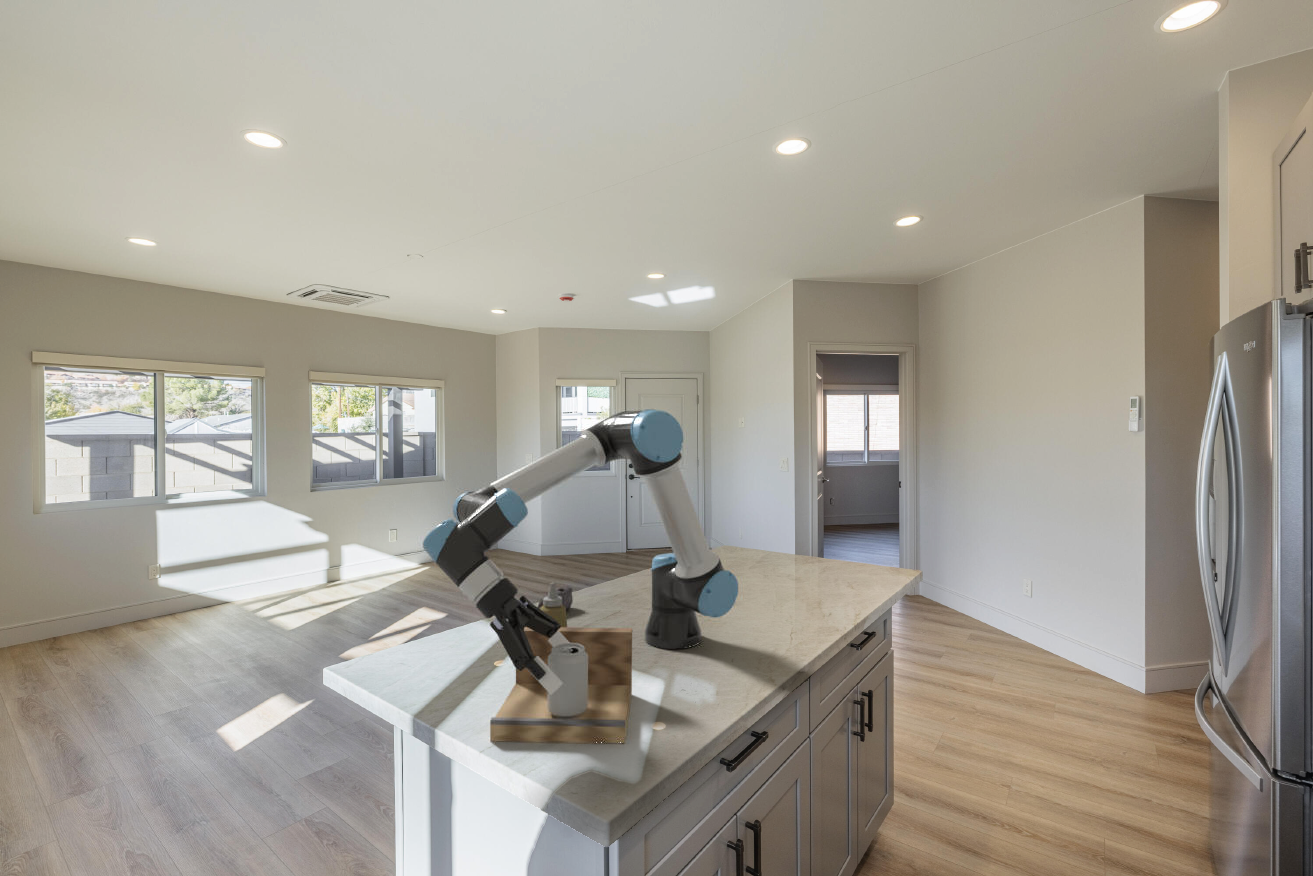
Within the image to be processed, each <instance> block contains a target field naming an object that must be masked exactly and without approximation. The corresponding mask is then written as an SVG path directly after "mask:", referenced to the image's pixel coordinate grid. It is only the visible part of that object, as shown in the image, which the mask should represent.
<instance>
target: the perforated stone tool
mask: <svg viewBox="0 0 1313 876" xmlns="http://www.w3.org/2000/svg"><path fill="white" fill-rule="evenodd" d="M556 590H557V594H558V596H560V597H562V605H563V606H564V607H566V611H567V610H568V609H570V608H571V607H572V604H573V601H574V600H573V588H572V587H571V586H567V585H566V586H564V587H560V588H556ZM547 596H548V594H546V595H545V596H543V597H542V598H541V599H540V600H539V603H538V605H537V607H538V608H539V609H540V608H541V607H542V606H543V598H544V597H547Z"/></svg>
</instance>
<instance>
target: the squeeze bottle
mask: <svg viewBox="0 0 1313 876" xmlns="http://www.w3.org/2000/svg"><path fill="white" fill-rule="evenodd" d="M547 595H548V596H547V597H545V596H543V597H544V598H543V597H542V598H543V606H542V607H541V608H540V609H541V610H542V611H543V612H545V613H546V614H548V615H549V616H550V617H552V618H553V619H555V620H556V621H557V622H558V623H559V624H560V625H561V627H568V618H567V610H566V607H564V606H563V605H562V597H560V596H558V594H557V586H556V582H551V583H550V585H549V588H548V593H547ZM550 623H551V622H550Z"/></svg>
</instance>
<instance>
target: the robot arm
mask: <svg viewBox="0 0 1313 876" xmlns="http://www.w3.org/2000/svg"><path fill="white" fill-rule="evenodd" d="M683 442H684V433H683V429H682V426H681V424H680V422H679V421H678V420H677V418H675V417H674V415H672V414H671V413H668V412H667V411H664V410H661V409H660V410H659V409H654V408H653V409H651V408H650V409H644V410H627V411H626V410H625V411H620V412H618V413H615V414H613V415H610V416H608V417H607V418H605V419H603V420H601V421H599V422H597V423H596V424H594V425H593V426H590V427H589V428H586V429H584V430H583V431H582V432H581V434H580V436H579V438H576V439H574V440H573V441H571V442H568V443H567V444H564V445H563V446H561V447H559V448H557V449H555V450H553V451H551V452H549V453H548V454H545V455H543V456H542V457H540V458H538V459H536V460H534V461H531V462H530V463H528V464H526V465H524V466H522V467H520V468H519V469H517V470H515V471H512V472H510V473H509V474H507V475H505V476H502V477H501V478H499V479H497V480H495V481H493V482H492V483H489V484H488V485H486V486H483V487H481V488H480V489H478V490H476V491H467V492H464V493H462V494H460V495H458V497H456V499H455V501H454V503H453V507H452V513H453V516H454V518H455V519H456V521H455V520H454V519H452V518H448V519H445V520H444V521H443V522H441V523H439V524H438V525H436V526H435V527H434V528H433V529H431V531H430V532H428V534H427V535H426V536H425V538H424V539H423V541H422V548H423V550H424V551H425V552H426V553H427V554H428V556H429V557H430V558H431V559H432V560H433V562H434V563H435V564H436V565H437V566H438V568H440V569H441V571H442V572H443V573H444V574H445V575H446V576H448V578H449V579H450V580H451V581H452V583H454V584H455V585H456V587H457V588H459V590H460V591H461V592H462V596H464V597H465V596H466V598H468V599H469V600H470V601H471V603H475V602H476V603H475V607H476V608H477V610H478V611H479V612H480V613H481V614H482V615H483V616H484V618H486V619H491V618H492V617H495V618H494V619H493V620H492V621H491V622H490V623H489V625H490V627H491V628H492V630H493V631H494V632H495V634H496V635H497V637H498V639H499V640H500V643H501V644H502V645H503V648H504V650H505V651H506V654H507V655H508V657H509V658H510V661H511V663H512V664H513V666H514V668H515V670H516V669H519V670H520V671H522V670H523V669H524V668H525V667H526V668H527V669H528V670H529V672H530V673H531V674H532V675H533V676H534V677H535V678H536V679H537V680H538V681H539V682H540V684H541V685H542V686H543V687H544V688H545V689H546V690H547V691H548V692H549V693H550V694H551V695H552V694H553V693H554V692H555V691H556V690H557V689H558V688H559V687H560V686H561V685H562V684H563V682H562V681H561V680H560V679H559V678H558V677H557V676H556V675H555V674H554V673H553V672H552V670H551V669H550V668H549V667H548V666H547V665H546V664H545V663H544V662H543V661H542V660H541V658H540V657H539V656H537V657H536V658H535V656H534V654H533V651H532V649H531V646H530V644H529V641H528V639H527V636H526V634H525V631H524V628H525V627H528V628H530V629H532V630H534V631H536V632H538V633H540V634H542V635H544V636H546V637H548V638H550V637H551V638H550V639H549V640H548V642H549V643H550V644H551V645H552V646H553V647H554V646H556V645H558V644H562V643H570V642H569V641H568V640H567V639H566V638H565V637H564V636H563V635H562V634H561V633H560V632H559V631H557V630H558V629H559V628H560V627H561V625H560V624H559V623H558V622H557V621H556V620H555V619H553V618H552V617H550V616H549V615H548V614H546V613H545V612H543V611H542V610H541V609H539V608H538V606H536V605H535V604H534V603H532V602H531V601H530V600H529V599H528V598H527V597H526V596H525V595H521V596H520V597H519V598H518V599H516V598H515V596H516V595H517V594H518V591H519V589H518V588H517V587H516V586H515V585H514V583H513V582H512V581H511V580H510V579H509V578H508V577H507V578H506V577H503V576H504V572H503V571H502V570H501V569H500V568H499V567H498V566H497V565H496V564H495V563H494V562H493V561H492V560H491V559H490V558H489V557H488V556H487V555H486V553H487V552H488V551H489V550H490V549H491V548H492V547H494V546H495V545H496V544H497V543H498V542H499V541H501V540H502V539H503V538H504V537H505V536H506V535H508V534H509V533H510V532H511V531H512V530H514V529H515V528H517V527H518V526H519V524H520V523H522V522H523V520H525V518H527V517H528V513H529V511H528V507H527V505H526V503H528V502H530V501H532V500H534V499H536V498H538V497H539V496H541V495H543V494H545V493H547V492H549V491H551V490H552V489H554V488H556V487H558V486H559V485H561V484H563V483H564V482H567V481H569V480H570V479H572V478H574V477H575V476H577V475H580V474H581V473H583V472H585V471H587V470H589V469H590V468H592V467H595V466H597V467H603V466H605V465H606V464H608V463H610V462H613V461H617V460H618V461H619V460H629V461H630V463H631V465H632V468H633V471H634V474H635V475H636V476H637V477H640V478H642V479H644V481H645V483H646V486H647V489H648V492H649V494H650V497H651V499H652V501H653V503H654V506H655V509H656V512H657V514H658V517H659V519H660V522H661V525H662V527H663V529H664V531H665V532H664V533H666V534H665V535H666V536H667V539H668V541H669V545H670V547H671V550H672V551H673V552H671V553H670V552H669V553H662V554H658V555H655V556H654V557H653V558H652V562H651V569H650V570H651V611H650V613H649V618H648V621H647V624H646V626H645V630H644V640H645V643H647V644H648V645H650V646H653V647H655V646H656V648H659V647H660V649H667V650H668V649H669V650H678V649H677V648H684V649H686V648H685V647H689V646H693V645H695V644H697V643H699V642H700V641H702V629H701V627H700V623H699V620H698V617H697V614H700V615H702V616H704V617H709V618H721V617H722V616H725V615H727V613H728V612H730V611H731V609H732V608H733V607H734V605H735V603H736V600H737V598H738V595H739V581H738V579H737V577H736V575H735V574H734V573H733V572H731V571H729V570H727V569H725V568H724V566H723V564H722V561H721V558H720V555H719V554H718V553H717V552H716V551H713V550H710V546H709V544H708V541H707V538H706V536H705V532H704V530H703V528H702V525H701V522H700V520H699V517H698V515H697V511H696V509H695V506H694V504H693V501H692V498H691V496H690V493H689V490H688V487H687V486H686V482H685V480H684V477H683V474H682V472H681V469H680V466H679V465H680V463H681V462H682V461H681V460H682V459H683V456H682V453H681V451H682V450H683V445H682V444H683ZM550 622H551V623H550ZM700 643H701V642H700ZM700 643H699V644H700ZM693 647H694V646H693ZM689 648H690V647H689Z"/></svg>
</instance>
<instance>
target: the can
mask: <svg viewBox="0 0 1313 876" xmlns="http://www.w3.org/2000/svg"><path fill="white" fill-rule="evenodd" d="M584 650H585V647H584V646H583V645H581V644H578V643H562V644H558V645H556V646H554V647H553V648H552V650H551V651H552V653H551V654H550V655H549V656H548V667H549V668H550V669H551V670H552V672H553V673H554V674H555V675H556V676H557V677H558V678H559V679H560V680H561V681H562V682H563V684H562V685H561V686H560V687H559V688H558V689H557V690H556V691H555V692H554V693H553V694H552V695H551V694H550V693H549V692H548V706H547V709H548V711H549V712H550V713H552V714H553V716H555V717H557V718H561V719H571V718H575V717H578V716H580V715H581V714H582V713H583V712H584V711H585V710H586V709H587V708H588V654H587V653H586V652H585V651H584Z"/></svg>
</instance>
